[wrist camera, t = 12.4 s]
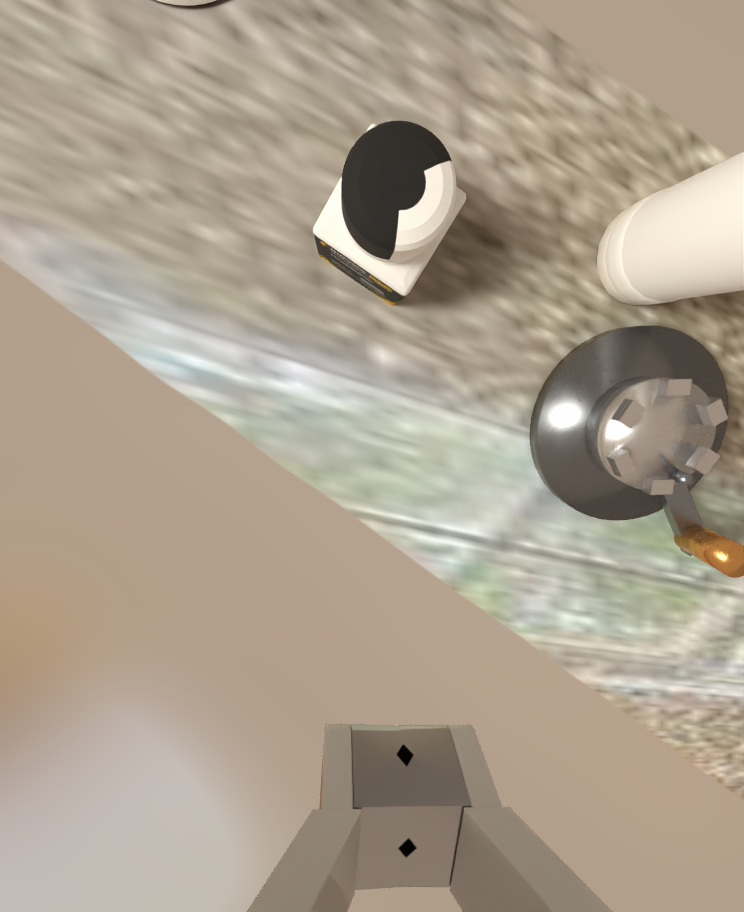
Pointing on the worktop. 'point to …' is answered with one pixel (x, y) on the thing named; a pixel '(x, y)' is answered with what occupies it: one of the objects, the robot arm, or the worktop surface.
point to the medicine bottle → (389, 208)
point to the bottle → (679, 240)
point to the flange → (580, 388)
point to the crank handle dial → (664, 454)
